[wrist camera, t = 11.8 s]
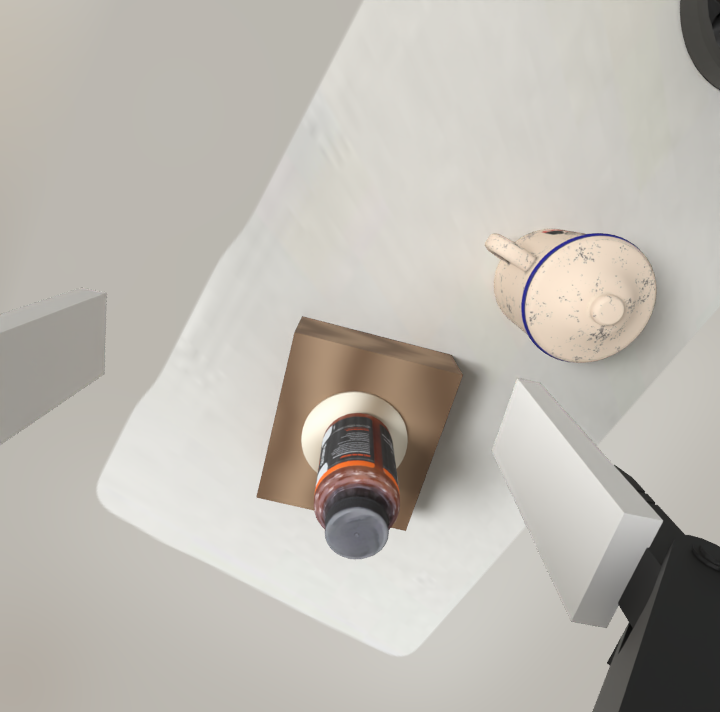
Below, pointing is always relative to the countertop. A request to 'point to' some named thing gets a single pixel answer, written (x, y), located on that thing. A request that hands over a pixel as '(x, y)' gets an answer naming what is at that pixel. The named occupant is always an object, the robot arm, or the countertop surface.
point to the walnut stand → (356, 407)
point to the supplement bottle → (357, 486)
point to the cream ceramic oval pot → (574, 291)
